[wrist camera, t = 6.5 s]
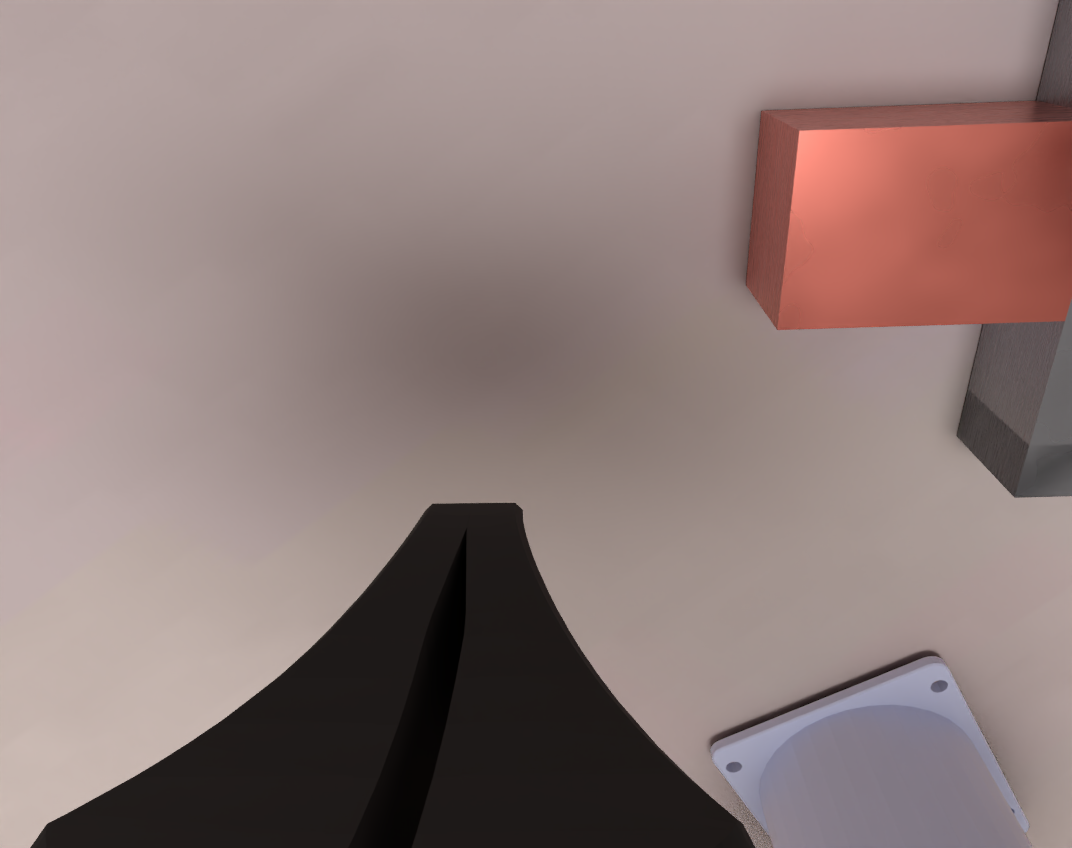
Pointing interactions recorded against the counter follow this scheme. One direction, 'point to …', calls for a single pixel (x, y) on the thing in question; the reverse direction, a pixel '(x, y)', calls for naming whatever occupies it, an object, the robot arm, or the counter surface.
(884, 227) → the clamp
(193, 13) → the counter surface
